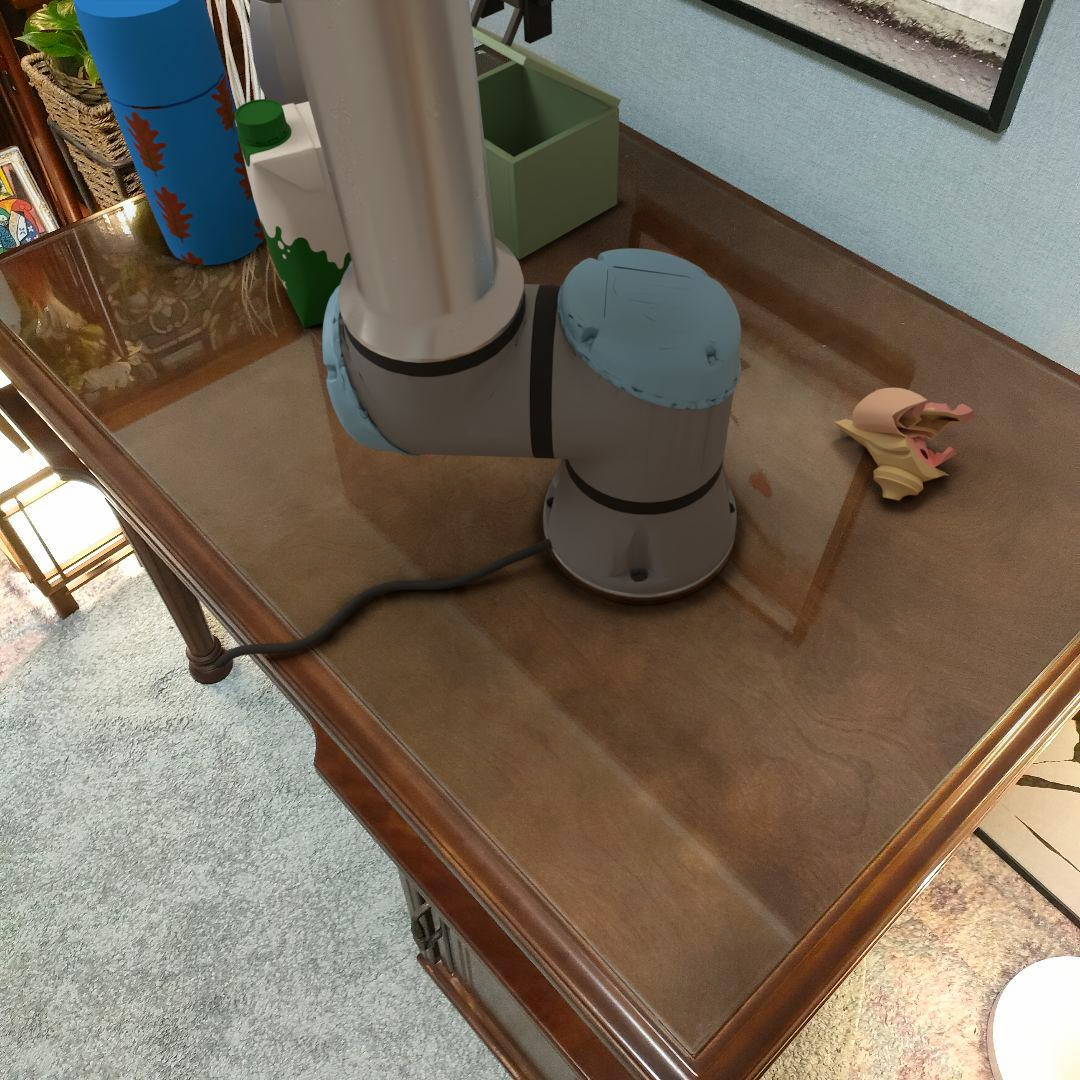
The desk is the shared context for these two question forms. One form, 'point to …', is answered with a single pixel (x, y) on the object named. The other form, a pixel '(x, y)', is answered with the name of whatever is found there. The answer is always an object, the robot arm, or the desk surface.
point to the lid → (531, 53)
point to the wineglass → (275, 53)
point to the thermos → (176, 122)
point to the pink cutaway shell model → (902, 437)
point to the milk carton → (294, 202)
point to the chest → (545, 156)
